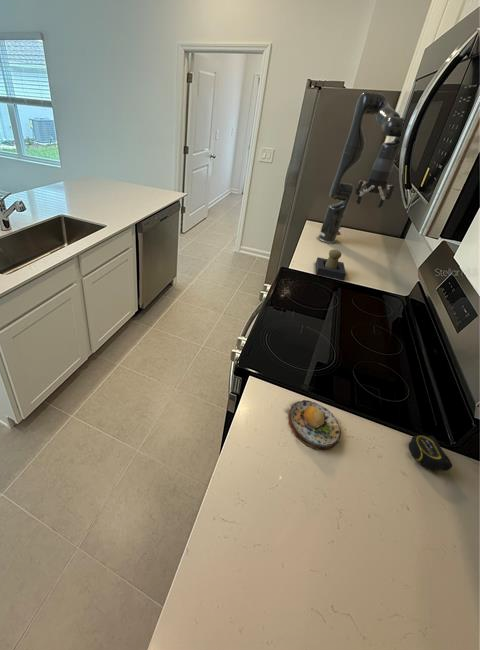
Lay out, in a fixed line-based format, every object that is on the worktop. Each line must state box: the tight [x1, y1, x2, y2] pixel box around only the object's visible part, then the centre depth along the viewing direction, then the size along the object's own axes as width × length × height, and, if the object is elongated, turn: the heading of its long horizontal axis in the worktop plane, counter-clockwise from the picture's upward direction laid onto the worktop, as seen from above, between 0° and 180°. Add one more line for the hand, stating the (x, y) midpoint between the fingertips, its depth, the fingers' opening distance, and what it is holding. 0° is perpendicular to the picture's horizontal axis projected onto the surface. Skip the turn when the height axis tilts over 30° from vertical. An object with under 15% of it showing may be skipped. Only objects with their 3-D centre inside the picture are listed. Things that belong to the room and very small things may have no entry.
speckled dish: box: [287, 399, 342, 451], centre depth 72 cm, size 12×12×8 cm
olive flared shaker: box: [324, 249, 342, 269], centre depth 143 cm, size 6×6×11 cm
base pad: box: [315, 257, 347, 281], centre depth 145 cm, size 12×12×4 cm
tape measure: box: [408, 434, 453, 471], centre depth 69 cm, size 7×7×4 cm
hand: (368, 205), depth 140 cm, fingers open, 8 cm apart
